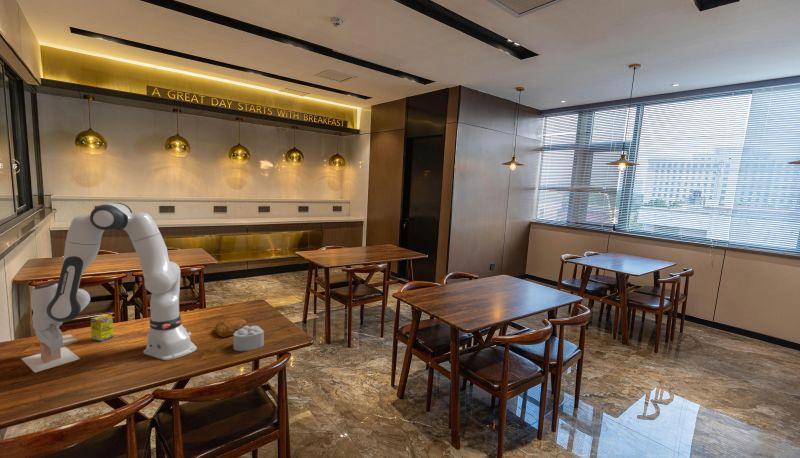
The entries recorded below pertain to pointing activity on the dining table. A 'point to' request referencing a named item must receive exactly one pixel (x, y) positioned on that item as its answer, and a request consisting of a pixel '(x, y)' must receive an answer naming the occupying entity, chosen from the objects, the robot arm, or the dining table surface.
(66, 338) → the coaster
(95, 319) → the supplement box
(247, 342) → the lumpy-topped squat cylinder
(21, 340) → the dining table surface
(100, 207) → the robot arm
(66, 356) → the mat
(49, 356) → the terracotta block
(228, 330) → the croissant
